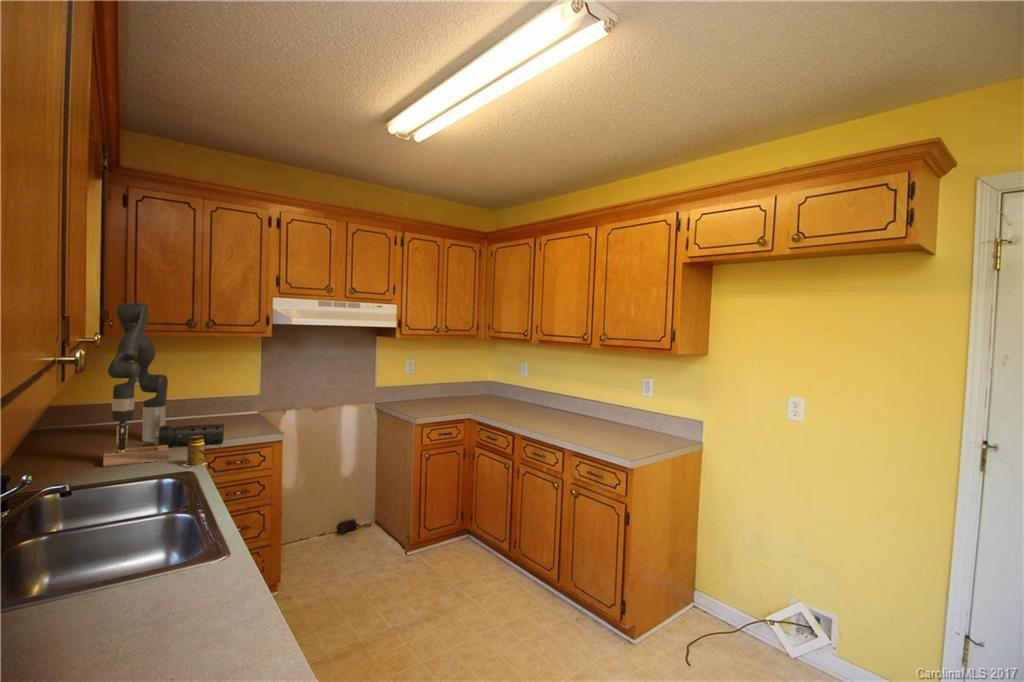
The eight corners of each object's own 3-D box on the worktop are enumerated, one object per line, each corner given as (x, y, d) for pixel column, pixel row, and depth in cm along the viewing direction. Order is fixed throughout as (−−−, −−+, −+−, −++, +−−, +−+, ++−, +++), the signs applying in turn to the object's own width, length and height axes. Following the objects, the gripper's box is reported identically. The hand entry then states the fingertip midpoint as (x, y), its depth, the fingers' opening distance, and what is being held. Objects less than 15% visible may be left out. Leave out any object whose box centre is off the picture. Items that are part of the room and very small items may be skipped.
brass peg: (113, 460, 209) (114, 427, 208) (128, 458, 212) (129, 426, 212) (113, 463, 205) (114, 429, 205) (128, 461, 208) (129, 428, 208)
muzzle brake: (222, 445, 244) (223, 425, 244) (153, 450, 230) (154, 428, 230) (223, 441, 252) (224, 421, 252) (156, 445, 238) (157, 424, 238)
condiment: (208, 463, 212) (209, 436, 212) (187, 468, 204) (188, 439, 204) (198, 461, 215) (199, 434, 215) (177, 465, 208) (178, 437, 208)
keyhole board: (104, 460, 210) (104, 450, 209) (167, 454, 223) (167, 444, 223) (103, 467, 200) (103, 456, 200) (168, 460, 214) (169, 450, 214)
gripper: (112, 406, 211) (110, 446, 211) (111, 411, 200) (110, 453, 200) (134, 405, 216) (132, 444, 216) (134, 410, 205) (133, 451, 205)
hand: (121, 448), depth 208 cm, fingers closed on brass peg, 3 cm apart
